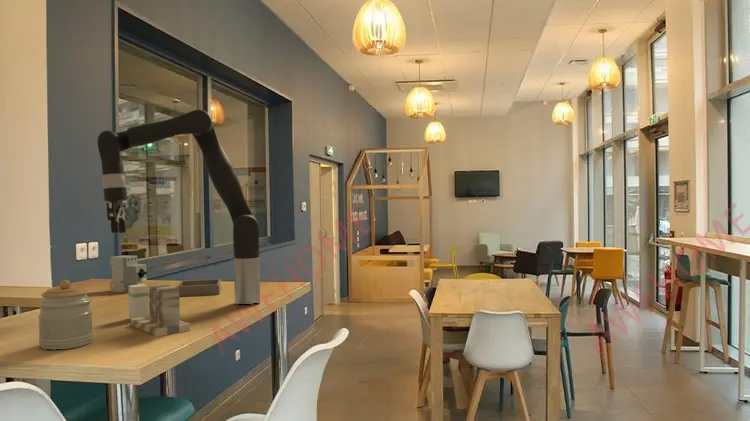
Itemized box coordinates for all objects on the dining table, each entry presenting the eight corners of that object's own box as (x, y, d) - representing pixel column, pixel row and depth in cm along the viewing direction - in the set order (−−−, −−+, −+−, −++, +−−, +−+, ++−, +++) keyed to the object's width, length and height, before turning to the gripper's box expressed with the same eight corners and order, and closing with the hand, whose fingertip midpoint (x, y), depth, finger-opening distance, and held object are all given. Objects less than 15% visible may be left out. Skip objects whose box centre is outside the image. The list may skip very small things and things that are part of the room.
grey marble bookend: (131, 325, 174) (130, 283, 174) (162, 320, 181) (161, 280, 180) (156, 336, 159) (155, 291, 159) (189, 330, 166) (188, 287, 165)
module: (129, 318, 184) (128, 285, 183) (143, 316, 187) (142, 284, 187) (134, 320, 180) (133, 287, 180) (148, 318, 183) (148, 285, 183)
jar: (35, 353, 143) (33, 285, 142) (42, 341, 155) (41, 278, 154) (91, 347, 148) (89, 281, 148) (94, 336, 160) (93, 275, 159)
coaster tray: (221, 288, 246) (221, 279, 245) (219, 294, 229) (219, 284, 229) (181, 289, 242) (180, 280, 242) (176, 296, 225) (175, 286, 225)
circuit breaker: (139, 292, 236) (139, 257, 236) (110, 291, 239) (109, 257, 239) (150, 289, 244) (149, 255, 243) (121, 289, 247) (120, 255, 246)
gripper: (119, 184, 191) (124, 231, 190) (131, 188, 205) (135, 231, 205) (96, 186, 190) (101, 233, 189) (110, 190, 204) (114, 233, 203)
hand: (119, 232), depth 197 cm, fingers open, 8 cm apart
